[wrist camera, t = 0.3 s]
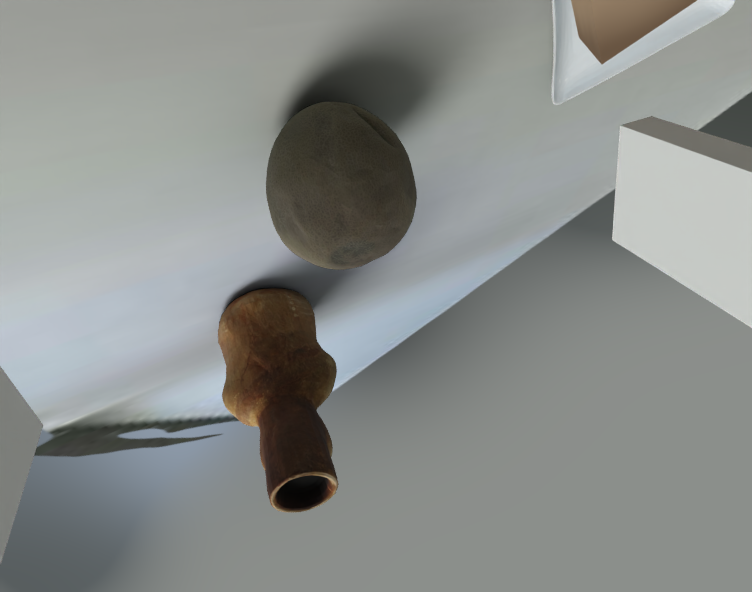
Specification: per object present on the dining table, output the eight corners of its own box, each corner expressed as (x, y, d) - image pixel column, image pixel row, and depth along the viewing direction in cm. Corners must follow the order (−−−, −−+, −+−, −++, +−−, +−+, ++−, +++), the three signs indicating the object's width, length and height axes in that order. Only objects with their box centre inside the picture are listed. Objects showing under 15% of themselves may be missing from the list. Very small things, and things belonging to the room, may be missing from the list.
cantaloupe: (217, 117, 49) (263, 248, 43) (359, 46, 49) (427, 169, 42) (279, 200, 62) (321, 311, 56) (392, 144, 61) (448, 250, 55)
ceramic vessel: (223, 351, 88) (277, 541, 75) (173, 287, 69) (234, 529, 56) (316, 317, 90) (384, 496, 77) (294, 246, 71) (379, 470, 58)
